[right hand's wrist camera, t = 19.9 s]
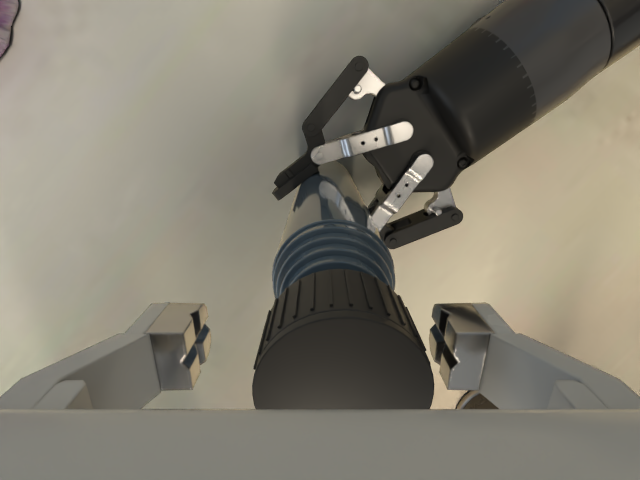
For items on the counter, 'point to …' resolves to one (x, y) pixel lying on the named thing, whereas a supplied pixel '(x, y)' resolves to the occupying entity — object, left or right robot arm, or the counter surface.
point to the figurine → (6, 21)
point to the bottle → (330, 232)
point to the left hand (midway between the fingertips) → (300, 223)
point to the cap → (341, 348)
